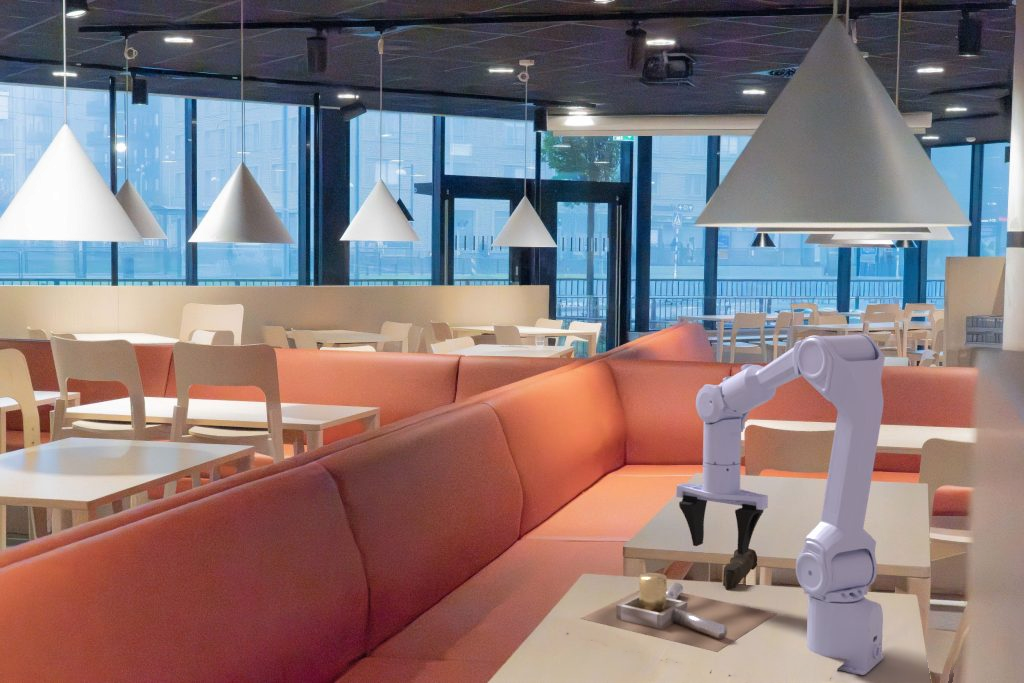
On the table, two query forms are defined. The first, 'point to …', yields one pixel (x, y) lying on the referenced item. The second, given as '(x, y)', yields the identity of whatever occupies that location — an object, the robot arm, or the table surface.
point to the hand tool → (739, 568)
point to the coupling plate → (661, 625)
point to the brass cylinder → (652, 592)
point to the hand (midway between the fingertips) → (720, 548)
